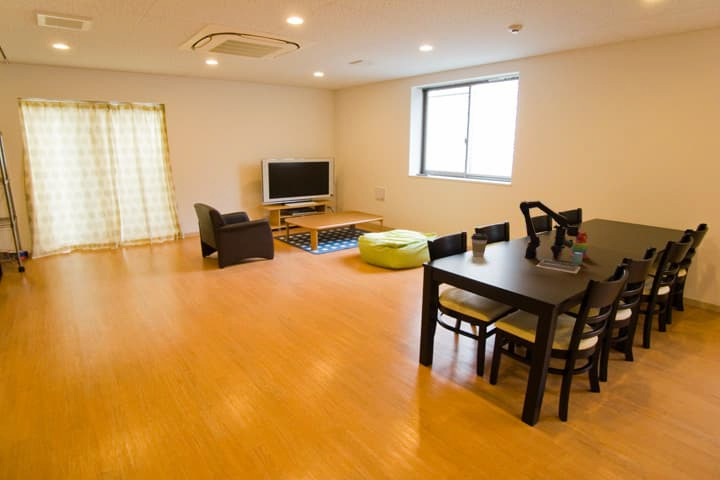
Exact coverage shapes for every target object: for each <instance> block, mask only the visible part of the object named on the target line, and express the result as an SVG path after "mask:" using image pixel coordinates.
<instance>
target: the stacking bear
mask: <svg viewBox="0 0 720 480" xmlns="http://www.w3.org/2000/svg"><path fill="white" fill-rule="evenodd" d="M578 232H579V233H578V237H575V238H576V239H575V240H573V242H574V244H573V246H572V248H571V252H572V253H570V254H571V255H570V256H571V258H573V257H574V252H579V253H583V256H582V259H585V260H586V259H590V255H588V254H587V251H588V243H587V239H588V234H587V233H586V231H584V230H583V231H578Z"/></svg>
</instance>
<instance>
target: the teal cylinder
mask: <svg viewBox="0 0 720 480" xmlns="http://www.w3.org/2000/svg"><path fill="white" fill-rule="evenodd" d="M582 256H583V253H579V252H574V257H572V264H577V265H578V266H581V265H582V262H583V258H582Z"/></svg>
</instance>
